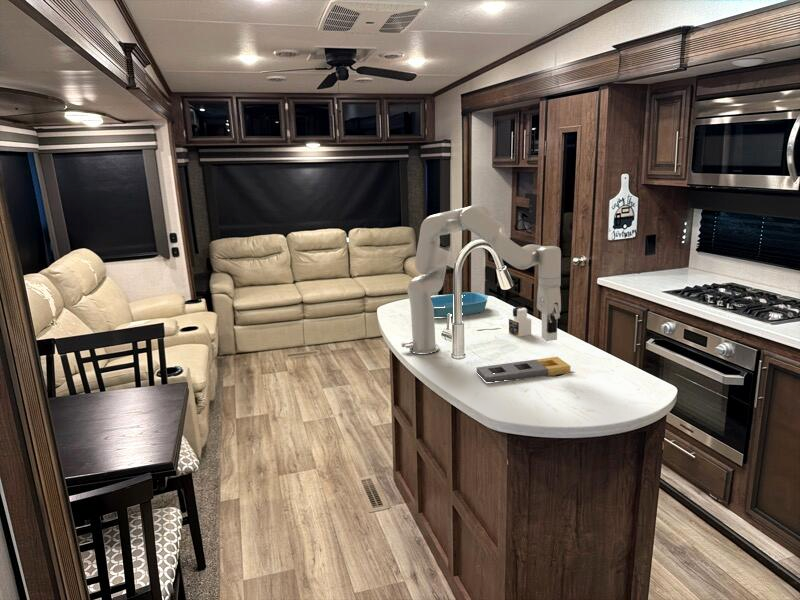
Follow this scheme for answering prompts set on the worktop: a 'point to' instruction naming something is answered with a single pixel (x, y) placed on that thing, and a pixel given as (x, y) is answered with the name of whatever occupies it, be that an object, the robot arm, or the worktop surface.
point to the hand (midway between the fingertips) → (549, 330)
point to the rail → (523, 369)
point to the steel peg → (545, 333)
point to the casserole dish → (470, 305)
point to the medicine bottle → (520, 322)
